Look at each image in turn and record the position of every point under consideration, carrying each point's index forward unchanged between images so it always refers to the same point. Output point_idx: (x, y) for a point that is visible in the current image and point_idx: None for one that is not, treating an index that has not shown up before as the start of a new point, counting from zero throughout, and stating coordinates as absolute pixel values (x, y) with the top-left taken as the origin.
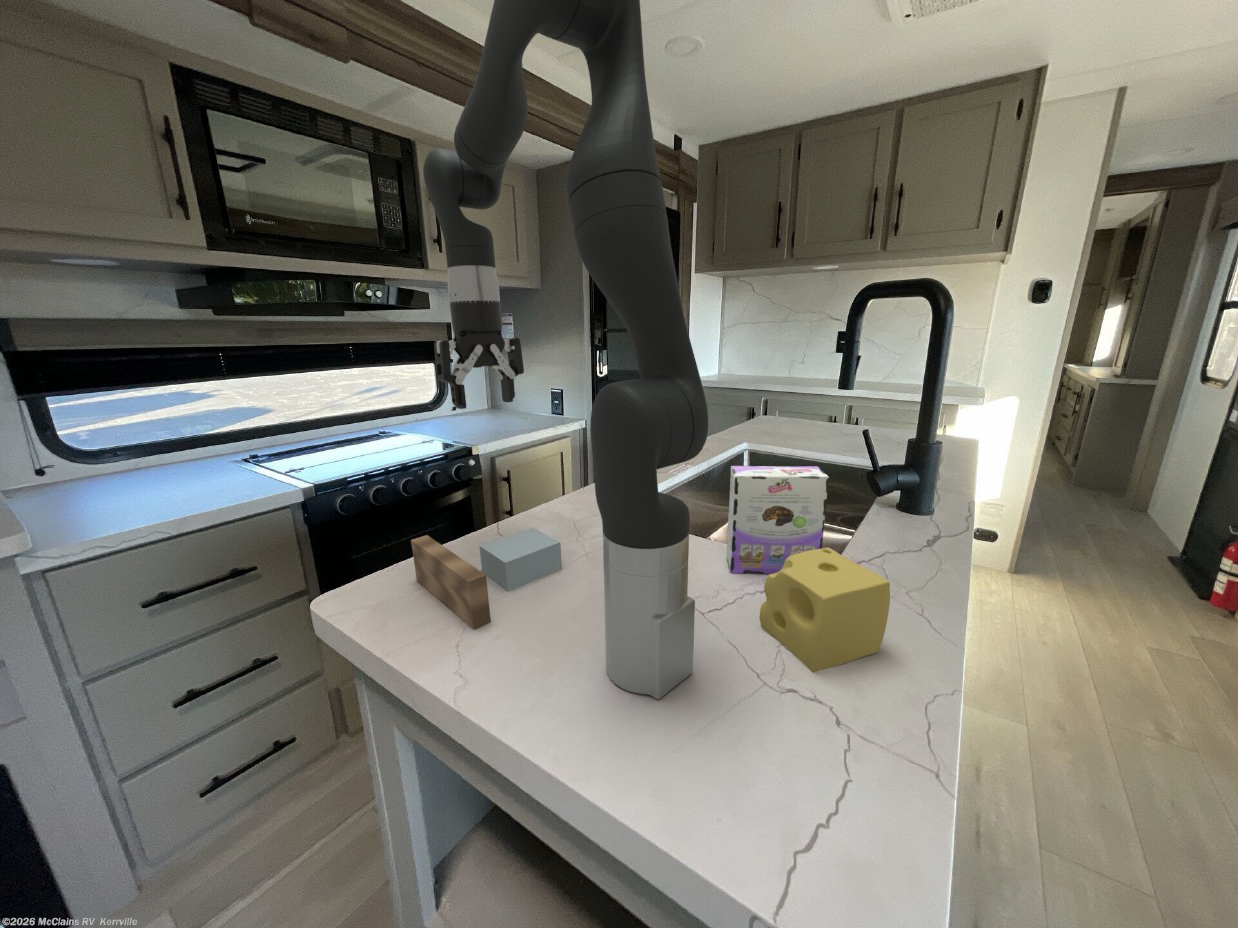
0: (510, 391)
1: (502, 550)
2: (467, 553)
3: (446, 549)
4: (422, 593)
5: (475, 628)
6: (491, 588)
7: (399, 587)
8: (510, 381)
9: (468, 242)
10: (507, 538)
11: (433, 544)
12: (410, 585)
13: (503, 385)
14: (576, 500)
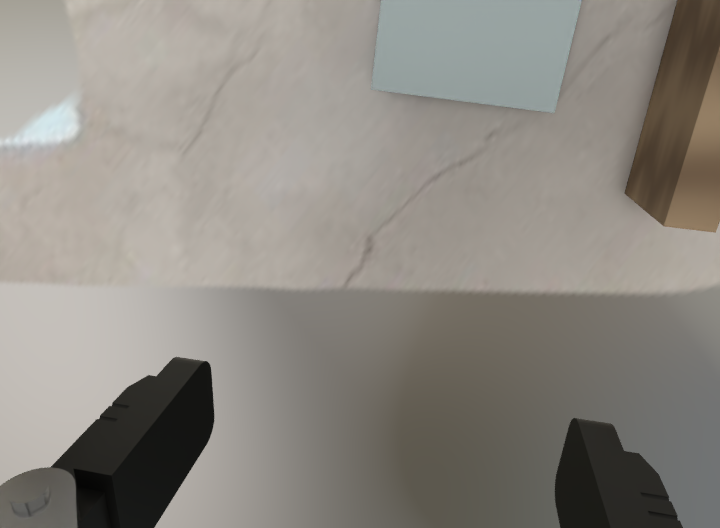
0: (153, 402)
1: (539, 24)
2: (492, 224)
3: (711, 83)
4: None
5: None
6: (589, 8)
7: None
8: (94, 458)
9: None
10: (471, 86)
11: (704, 150)
12: None
13: (151, 497)
14: (95, 254)
